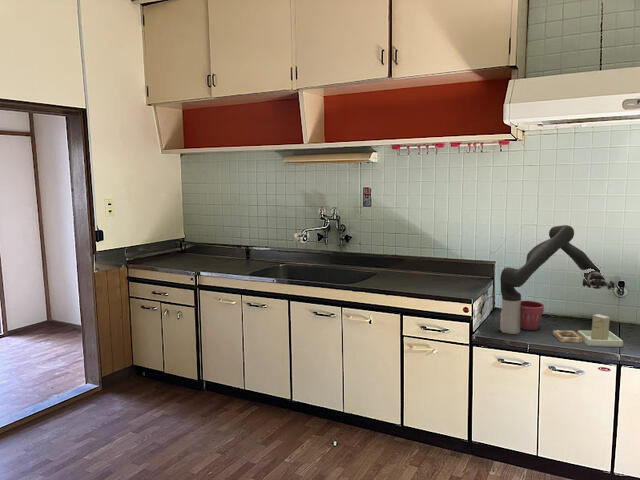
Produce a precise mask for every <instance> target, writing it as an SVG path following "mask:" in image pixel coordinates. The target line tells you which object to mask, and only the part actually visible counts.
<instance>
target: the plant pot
mask: <svg viewBox="0 0 640 480" xmlns="http://www.w3.org/2000/svg"><path fill="white" fill-rule="evenodd" d="M544 310H545V305H544V304H543V303H541V302H539V301H532V300H521V317H520V329H523V330H528V331H533V330H537V329H538V327H539V325H540V321H541V317H542V314H543V313H544Z"/></svg>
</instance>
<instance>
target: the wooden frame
mask: <svg viewBox="0 0 640 480" xmlns="http://www.w3.org/2000/svg"><path fill="white" fill-rule="evenodd" d="M552 335H553V336H554V337H555V338H556V339H557V340H558V342H560V343H583V341H582V339H583V338H581V337H580V336H579V335H578V332H576V331H575V330H558V329H557V330H555V329H553V330H552Z"/></svg>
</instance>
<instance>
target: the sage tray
mask: <svg viewBox="0 0 640 480" xmlns="http://www.w3.org/2000/svg"><path fill="white" fill-rule="evenodd" d="M591 333H592V330H577V334H578V335H579V336H580V337H581V338H583V339H582V343H585V345H586V346H587V347H596V348H597V347H599V348H600V347H601V348H602V347H603V348H606V347H607V348H609V347H610V348H623V347H624V340H622V339H621V338H620V337H618V336H617V335H615V334H614V333H613V332H612V331H610V330H609V333H608V340H593V339H591Z"/></svg>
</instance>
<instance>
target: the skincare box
mask: <svg viewBox="0 0 640 480" xmlns="http://www.w3.org/2000/svg"><path fill="white" fill-rule="evenodd" d="M610 319H611V317H610V316H607V315H603V314H600V313H597V314H592V320H591V321H592V323H591V331H592V333H591V339H593V340H608V333H609V331H610V322H611V321H610Z"/></svg>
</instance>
